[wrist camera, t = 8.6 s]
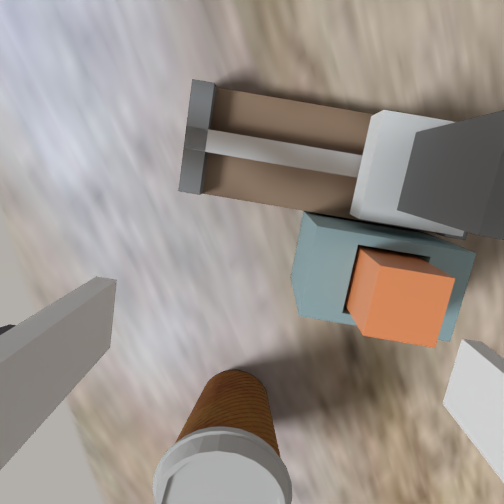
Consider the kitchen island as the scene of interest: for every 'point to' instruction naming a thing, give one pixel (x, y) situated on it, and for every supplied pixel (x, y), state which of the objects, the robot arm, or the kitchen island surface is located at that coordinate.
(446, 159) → the carriage
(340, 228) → the cabinet
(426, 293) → the button
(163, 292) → the kitchen island surface
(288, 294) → the kitchen island surface
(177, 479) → the disposable coffee cup
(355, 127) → the rail board
